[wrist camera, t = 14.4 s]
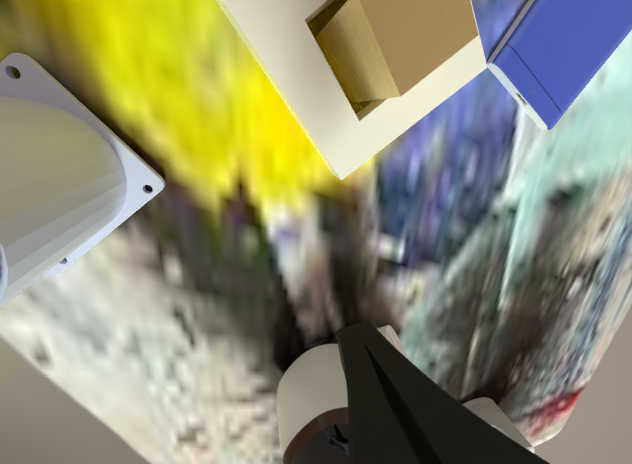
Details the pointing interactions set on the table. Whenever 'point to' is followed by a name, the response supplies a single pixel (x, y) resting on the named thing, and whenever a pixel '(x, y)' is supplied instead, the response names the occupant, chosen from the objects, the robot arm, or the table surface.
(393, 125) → the frame
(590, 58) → the hard drive
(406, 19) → the block
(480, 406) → the engine component
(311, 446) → the spread jar
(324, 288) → the table surface
